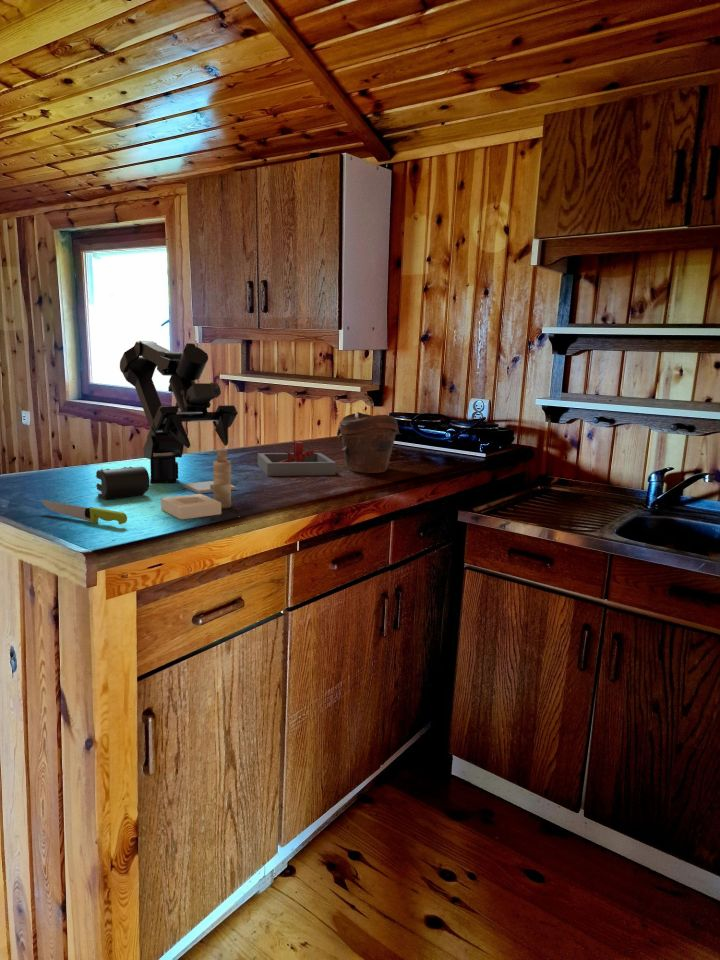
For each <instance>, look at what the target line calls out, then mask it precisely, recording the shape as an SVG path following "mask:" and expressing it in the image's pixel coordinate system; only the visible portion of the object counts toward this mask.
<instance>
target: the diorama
mask: <svg viewBox="0 0 720 960" xmlns="http://www.w3.org/2000/svg"><path fill="white" fill-rule="evenodd" d="M284 451H285V452H284V453H288V459H286V460H283V461H280V462H305V461H304V460H303V458H305V457H307V456H310V455H312V454H314V453H315V451H314V450H313V449H312V450H309V451H306V452H304V442H302V441H296V439H294V440H293V453H294V457H293V458H291V459H290V454H291V453H292V452H291V449H290V448H287V449H285V450H284Z"/></svg>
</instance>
